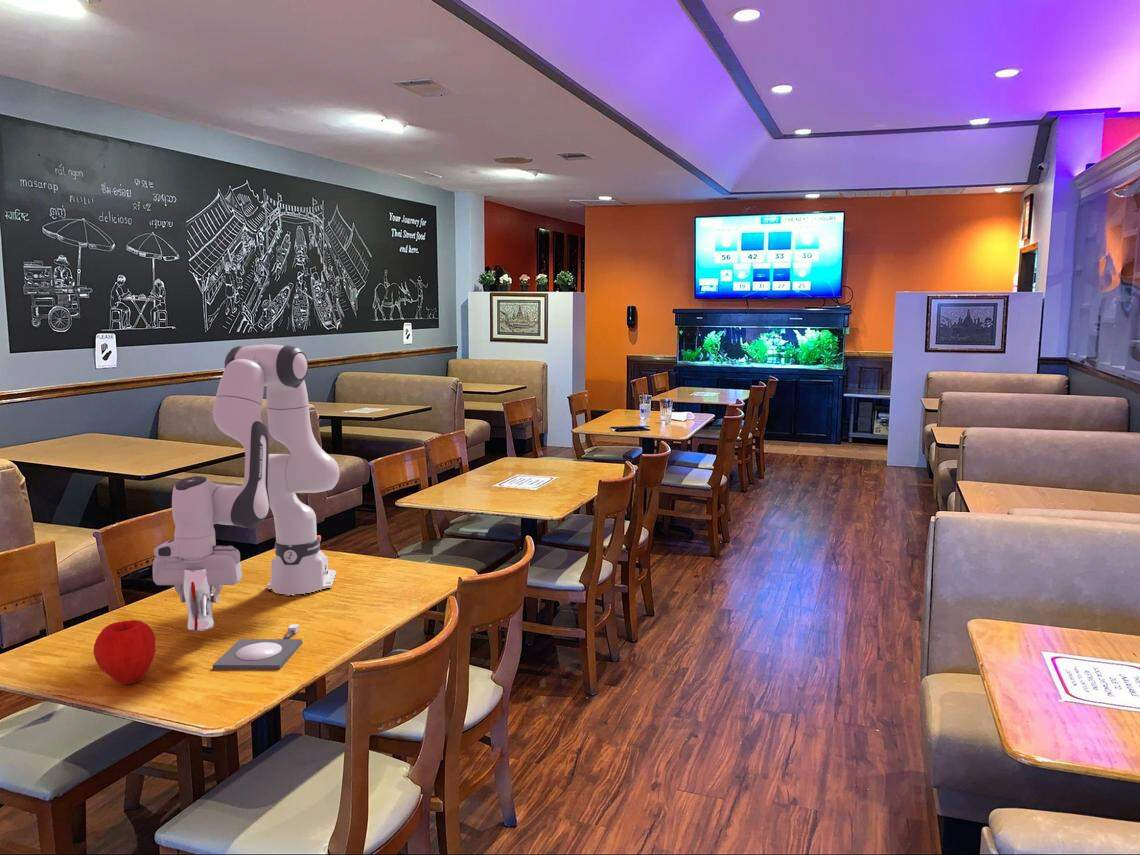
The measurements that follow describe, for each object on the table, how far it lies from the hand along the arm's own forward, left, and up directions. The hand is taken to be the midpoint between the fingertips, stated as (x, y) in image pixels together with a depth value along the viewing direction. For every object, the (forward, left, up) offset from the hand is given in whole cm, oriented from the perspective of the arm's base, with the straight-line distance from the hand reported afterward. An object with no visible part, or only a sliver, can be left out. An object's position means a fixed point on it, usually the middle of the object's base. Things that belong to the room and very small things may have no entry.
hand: (199, 601), depth 203 cm
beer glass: (0, 0, -6) cm, 6 cm away
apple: (+22, -6, -10) cm, 25 cm away
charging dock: (+4, +17, -10) cm, 20 cm away
